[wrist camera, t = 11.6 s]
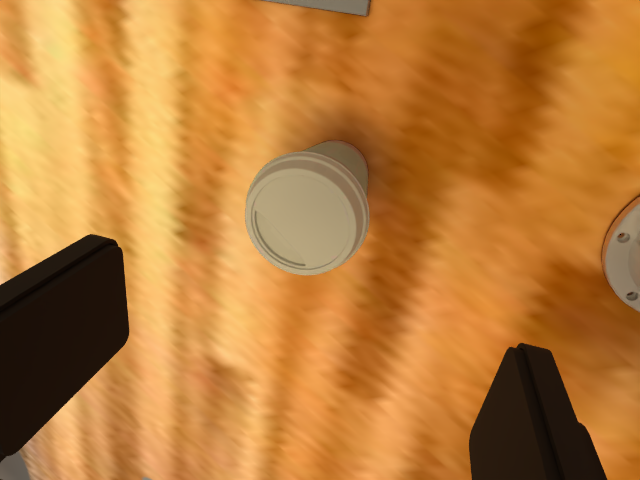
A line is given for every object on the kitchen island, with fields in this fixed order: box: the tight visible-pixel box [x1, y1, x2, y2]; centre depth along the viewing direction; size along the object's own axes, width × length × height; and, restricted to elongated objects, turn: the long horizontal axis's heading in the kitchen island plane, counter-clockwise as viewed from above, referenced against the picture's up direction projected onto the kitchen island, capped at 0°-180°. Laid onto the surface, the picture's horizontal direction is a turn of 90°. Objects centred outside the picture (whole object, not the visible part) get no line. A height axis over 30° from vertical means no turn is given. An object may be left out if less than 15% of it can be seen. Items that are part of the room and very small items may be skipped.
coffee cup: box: [245, 140, 369, 275], centre depth 33 cm, size 9×9×12 cm
